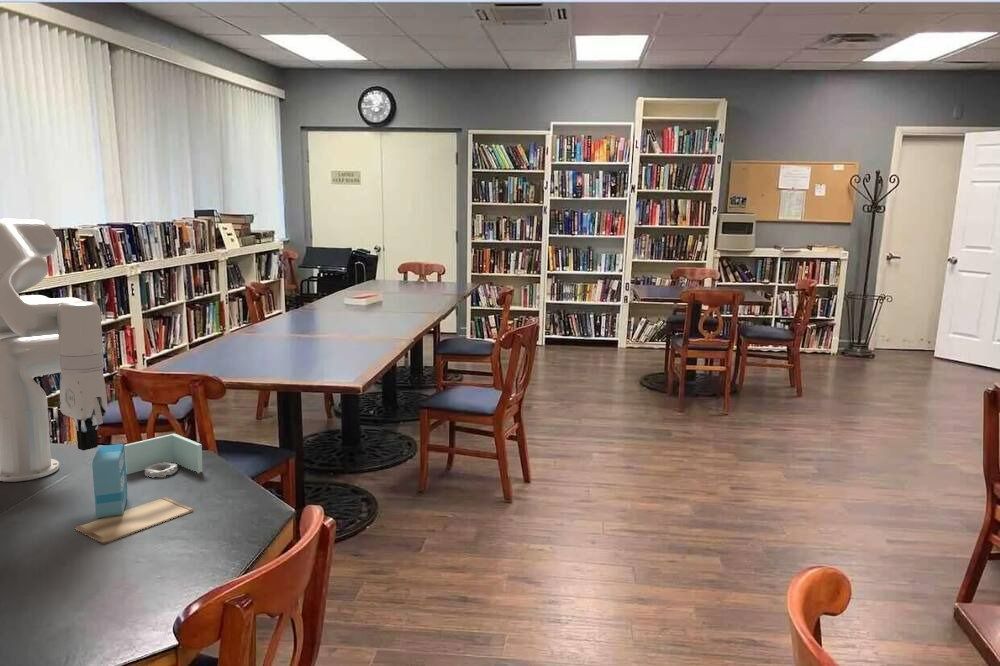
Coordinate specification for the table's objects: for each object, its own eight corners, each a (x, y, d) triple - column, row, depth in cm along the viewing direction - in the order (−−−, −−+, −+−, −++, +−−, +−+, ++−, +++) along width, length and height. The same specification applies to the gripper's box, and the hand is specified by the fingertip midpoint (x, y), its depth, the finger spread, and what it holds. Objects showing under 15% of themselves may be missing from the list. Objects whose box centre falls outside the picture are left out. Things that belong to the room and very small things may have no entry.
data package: (122, 517, 131) (118, 458, 129) (96, 520, 129) (91, 461, 128) (127, 495, 142) (124, 441, 140) (103, 499, 140) (99, 444, 138)
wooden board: (75, 529, 126) (74, 527, 126) (164, 498, 141) (164, 496, 141) (103, 544, 121) (103, 541, 121) (193, 511, 136) (193, 508, 136)
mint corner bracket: (125, 475, 154) (123, 445, 153) (175, 462, 164) (174, 433, 163) (151, 489, 147) (150, 457, 146) (202, 474, 157) (201, 444, 156)
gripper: (43, 360, 136) (50, 446, 139) (82, 369, 128) (88, 460, 131) (82, 355, 142) (87, 437, 145) (121, 363, 135) (126, 450, 138)
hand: (88, 448), depth 138 cm, fingers closed
